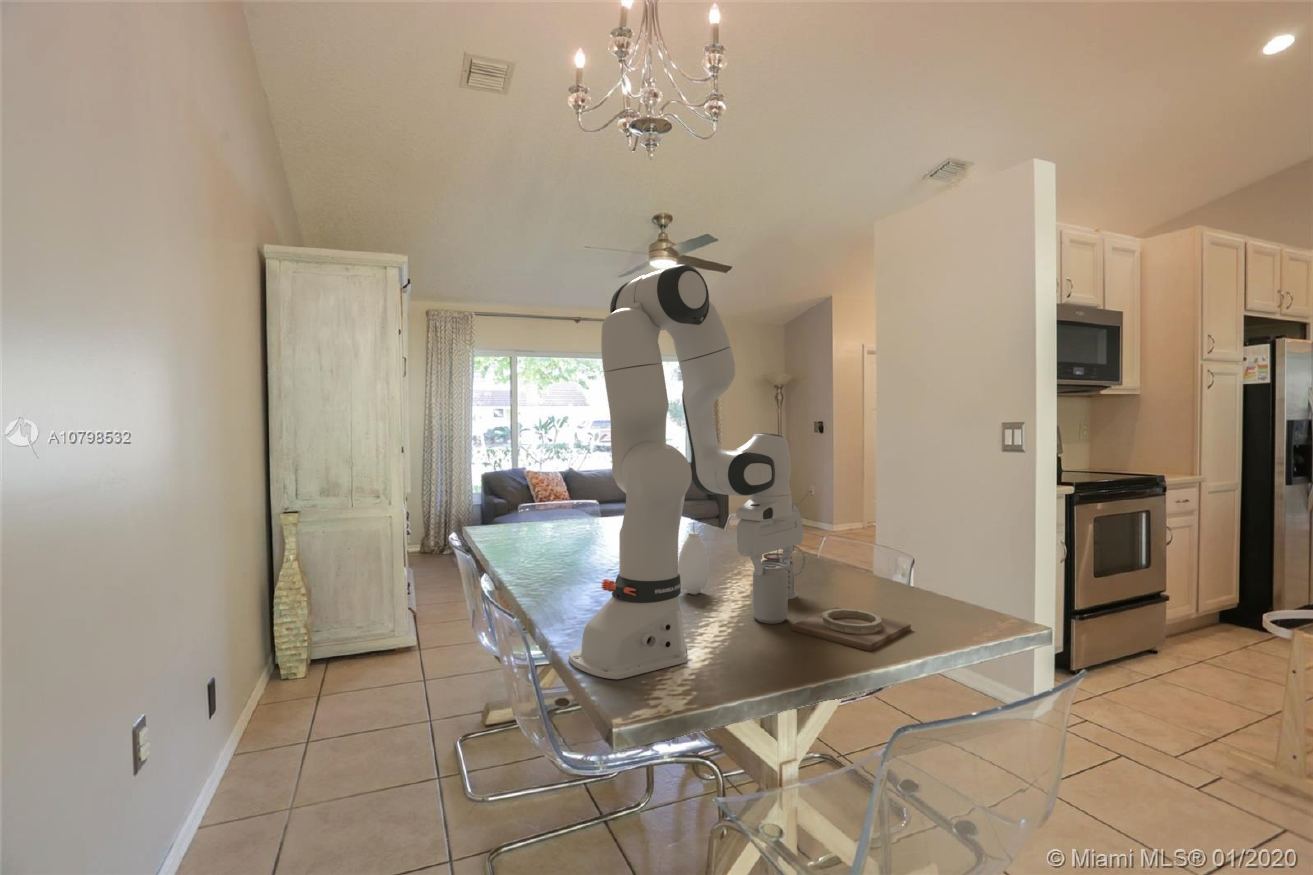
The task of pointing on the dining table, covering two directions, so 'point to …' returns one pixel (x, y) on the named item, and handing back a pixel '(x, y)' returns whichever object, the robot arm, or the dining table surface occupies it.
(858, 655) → the dining table surface
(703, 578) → the sauce bottle
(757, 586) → the can
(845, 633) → the seat board
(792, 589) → the french press
